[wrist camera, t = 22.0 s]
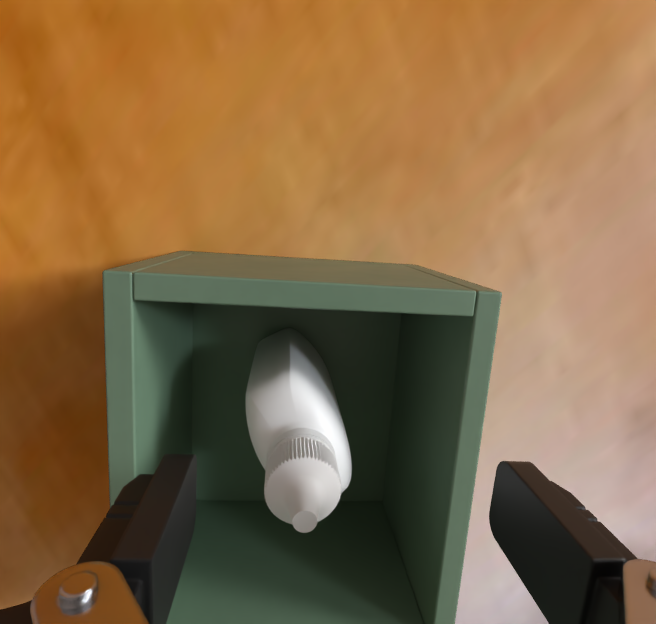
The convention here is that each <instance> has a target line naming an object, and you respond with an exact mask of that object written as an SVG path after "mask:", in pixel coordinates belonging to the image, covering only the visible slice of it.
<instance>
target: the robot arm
mask: <svg viewBox="0 0 656 624" xmlns="http://www.w3.org/2000/svg"><path fill="white" fill-rule="evenodd" d="M196 495H197V458H196V455H195V454H165V455H164V456H163V458H162V460H161V462H160V464H159V466H158V468H157V470H156V472H155V474H140V475H138V476H137V477H136V478H134V479H133V480H132V481H130V482H129V483H128V484H126V485H125V486H124V487H123V488H122V490H121V492H120V493H119V495H118V497H117V498H116V500H115V502H114V505H112V506H111V508H110V510H109V511H108V513H107V515H106V518H104V520H103V521H102V523H101V524H100V526H99V528H98V529H97V531H96V533H95V534H94V536H93V538H92V539H91V541H90V543H89V544H88V546H87V547H86V549H85V551H84V552H83V554H82V556H81V557H80V559H79V561H78V562H77V564H76V565H74V566H71V567H68V568H66V569H64V570H62V571H60V572H59V573H57V574H55V575H54V576H52V577H51V578H50V579H48V580H47V581H46V582H45V583H44V584H43V585H42V586H41V587H40V588H39V590H38V591H37V592H36V594H35V595H34V597H33V600H31V601H29V602H26V603H23V604H20V605H17V606H13V607H9V608H5V609H1V610H0V624H166V623H167V619H168V616H169V613H170V609H171V606H172V603H173V599H174V596H175V593H176V589H177V586H178V583H179V579H180V576H181V573H182V569H183V566H184V563H185V560H186V556H187V553H188V550H189V546H190V543H191V540H192V536H193V532H194V526H195V519H196ZM489 520H490V527H491V531H492V533H493V536H494V538H495V540H496V541H497V543H498V544H499V546H500V547H501V549H502V551H503V552H504V554H505V555H506V557H507V558H508V560H509V561H510V563H511V565H512V566H513V568H514V569H515V571H516V572H517V574H518V576H519V577H520V579H521V580H522V582H523V583H524V585H525V587H526V588H527V590H528V591H529V593H530V594H531V596H532V597H533V599H534V601H535V602H536V604H537V605H538V607H539V608H540V610H541V612H542V613H543V615H544V616H545V618H546V619H547V621H548V623H549V624H656V562H652V561H648V560H642V559H637V558H636V557H635V556H634V555H633V554H632V553H631V552H630V551H629V550H628V549H627V548H626V547H625V546H624V545H623V544H622V543H621V542H620V541H619V540H618V539H617V538H616V537H615V536H614V535H613V534H612V533H611V532H610V531H609V530H608V529H607V528H606V527H605V526H604V525H603V524H602V523H601V522H598V521H597V518H596V517H595V516H594V515H593V514H592V513H591V512H590V511H589V510H586V509H585V506H584V505H583V504H581V503H580V502H579V501H578V500H577V499H576V498H575V497H574V496H573V495H572V494H571V493H570V492H568V491H567V490H565V489H563V488H562V487H560V486H559V485H557V484H555V483H554V482H552V481H549V480H548V479H547V478H546V477H545V476H544V475H543V474H542V473H541V472H540V471H539V470H538V469H537V467H536V466H535V465H534V464H532V463H531V462H516V461H502V462H500V463H499V465H498V467H497V470H496V476H495V482H494V488H493V494H492V500H491V506H490V512H489Z"/></svg>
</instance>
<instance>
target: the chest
mask: <svg viewBox="0 0 656 624" xmlns="http://www.w3.org/2000/svg"><path fill="white" fill-rule="evenodd" d="M501 297H502V293H501V292H499V291H496V290H493V289H490V288H487V287H483V286H480V285H477V284H474V283H471V282H468V281H465V280H462V279H459V278H455V277H452V276H449V275H446V274H443V273H440V272H437V271H434V270H431V269H427V268H424V267H421V266H418V265H409V264H392V263H376V262H359V261H342V260H326V259H309V258H292V257H276V256H259V255H242V254H226V253H209V252H192V251H178V252H174V253H170V254H167V255H163V256H159V257H155V258H151V259H147V260H143V261H139V262H135V263H131V264H127V265H123V266H119V267H115V268H111V269H107V270H104V271H103V304H104V335H105V367H106V398H107V430H108V462H109V493H110V508H111V506H112V505H114V502H115V500H116V498H117V497H118V495H119V493H120V492H121V490H122V488H123V487H124V486H125V485H126V484H128V483H129V482H130V481H132V480H133V479H134V478H136V477H137V476H138V475H140V474H155V472H156V470H157V468H158V466H159V464H160V462H161V460H162V458H163V456H164V455H165V454H195V455H196V458H197V495H196V519H195V526H194V532H193V536H192V540H191V543H190V546H189V550H188V553H187V556H186V560H185V563H184V566H183V569H182V573H181V576H180V579H179V583H178V586H177V589H176V593H175V596H174V599H173V603H172V606H171V609H170V613H169V616H168V619H167V623H166V624H455V618H456V611H457V604H458V597H459V590H460V583H461V576H462V569H463V562H464V555H465V548H466V541H467V534H468V527H469V520H470V513H471V506H472V499H473V492H474V485H475V478H476V471H477V464H478V457H479V450H480V443H481V436H482V429H483V422H484V415H485V408H486V402H487V395H488V388H489V381H490V374H491V367H492V360H493V353H494V346H495V339H496V332H497V325H498V318H499V311H500V304H501ZM287 328H291V329H294V330H296V331H298V332H299V333H300V334H301V335H303V336H304V337H305V338H306V339H307V340H308V341H309V342H310V343H311V344H312V346H313V347H314V348H315V349H316V351H317V352H318V353H319V355H320V356H321V358H322V360H323V362H324V363H325V365H326V368H327V370H328V372H329V375H330V378H331V381H332V384H333V388H334V391H335V395H336V399H337V402H338V406H339V409H340V413H341V416H342V420H343V424H344V427H345V431H346V435H347V438H348V443H349V447H350V453H351V463H352V474H351V481H350V483H349V486H348V487H347V488H346V489H345V490H344V491H343V492H342V493H341V495H340V499H339V502H338V503H337V506H336V507H335V509H333V511H332V512H331V513H330V514H329V515H328V516H327V517H325V518H324V519H322V520H321V521H318V522H317V525H316V527H315V528H314V529H313V530H312V531H310V532H307V533H302V532H299V531H297V530H296V529H295V528H294V527H293V524H289V523H286V522H284V521H282V520H280V519H279V518H278V517H276V515H274V514H273V513H272V512H271V510H270V509H269V507H268V506H267V503H266V502H265V501H266V499H265V495H264V484H265V472H266V471H265V469H264V468H263V466H262V464H261V463H260V461H259V459H258V457H257V455H256V452H255V450H254V447H253V444H252V441H251V438H250V434H249V430H248V425H247V418H246V390H247V385H248V380H249V376H250V372H251V368H252V363H253V359H254V355H255V351H256V348H257V345H258V343H259V342H260V341H261V340H262V339H264V338H266V337H268V336H270V335H272V334H274V333H276V332H278V331H281V330H283V329H287Z"/></svg>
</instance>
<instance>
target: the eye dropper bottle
mask: <svg viewBox="0 0 656 624" xmlns="http://www.w3.org/2000/svg"><path fill="white" fill-rule="evenodd" d="M246 418H247V425H248V430H249V434H250V438H251V441H252V444H253V447H254V450H255V452H256V455H257V457H258V459H259V461H260V463H261V464H262V466H263V468H264V469H265V471H266V472H265V484H264V495H265V499H266V501H265V502H266V503H267V506H268V507H269V509H270V510H271V512H272V513H273V514H274V515H276V517H278V518H279V519H280V520H282V521H284V522H286V523H289V524H293V527H294V528H295V529H296V530H297V531H299V532H302V533H307V532H310V531H312V530H313V529H314V528H315V527H316V525H317V522H318V521H321V520H322V519H324V518H325V517H327V516H328V515H329V514H330V513H331V512H332V511H333V509H335V507H336V506H337V503H338V502H339V499H340V495H341V493H342V492H343V491H344V490H345V489H346V488H347V487H348V486H349V483H350V481H351V474H352V463H351V453H350V447H349V443H348V438H347V435H346V431H345V427H344V424H343V420H342V416H341V413H340V409H339V406H338V402H337V399H336V395H335V391H334V388H333V384H332V381H331V378H330V375H329V372H328V370H327V368H326V365H325V363H324V362H323V360H322V358H321V356H320V355H319V353H318V352H317V351H316V349H315V348H314V347H313V346H312V344H311V343H310V342H309V341H308V340H307V339H306V338H305V337H304V336H303V335H301V334H300V333H299V332H298V331H296V330H294V329H291V328H287V329H283V330H281V331H278V332H276V333H274V334H272V335H270V336H268V337H266V338H264V339H262V340H261V341H260V342H259V343H258V345H257V348H256V351H255V355H254V359H253V363H252V368H251V372H250V376H249V380H248V385H247V390H246Z"/></svg>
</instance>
